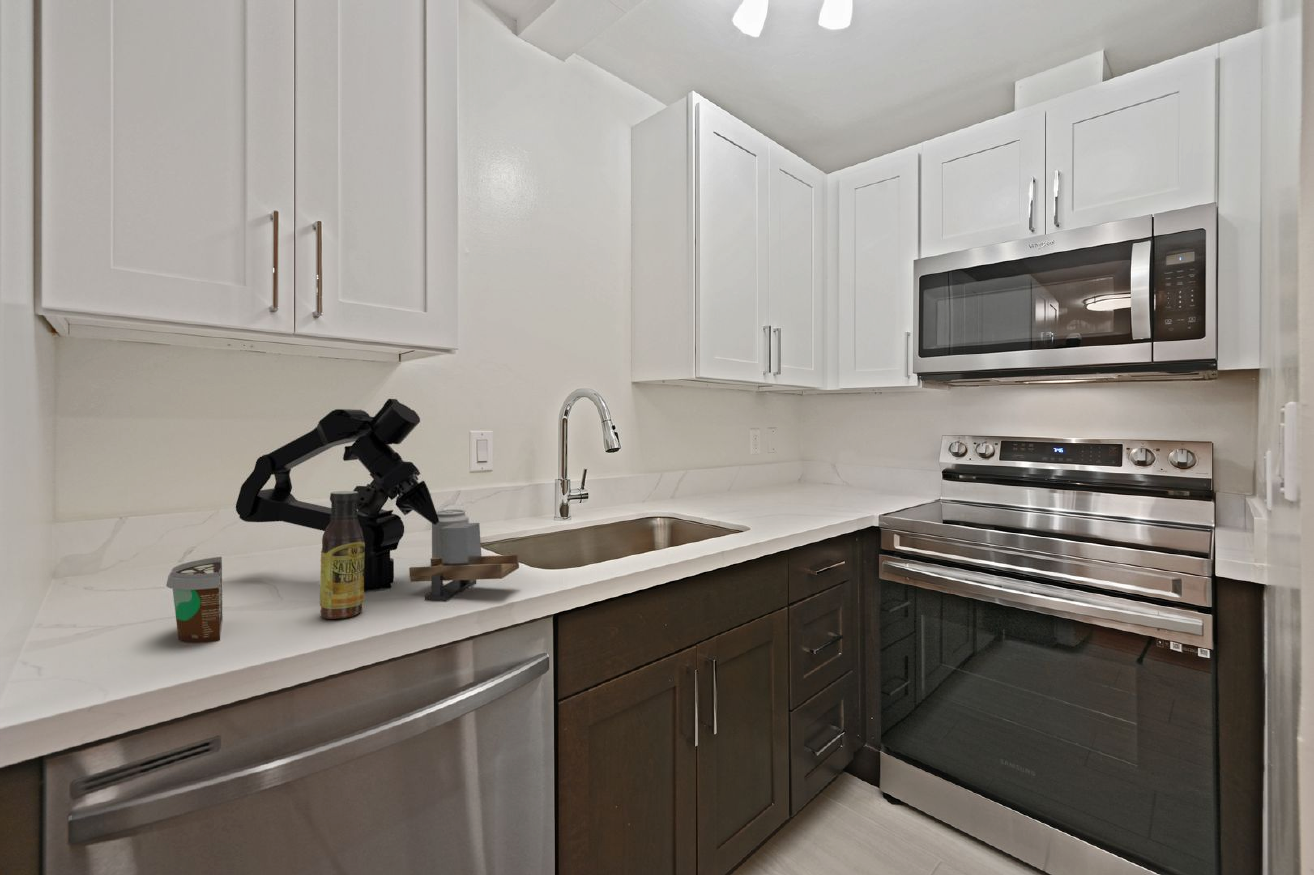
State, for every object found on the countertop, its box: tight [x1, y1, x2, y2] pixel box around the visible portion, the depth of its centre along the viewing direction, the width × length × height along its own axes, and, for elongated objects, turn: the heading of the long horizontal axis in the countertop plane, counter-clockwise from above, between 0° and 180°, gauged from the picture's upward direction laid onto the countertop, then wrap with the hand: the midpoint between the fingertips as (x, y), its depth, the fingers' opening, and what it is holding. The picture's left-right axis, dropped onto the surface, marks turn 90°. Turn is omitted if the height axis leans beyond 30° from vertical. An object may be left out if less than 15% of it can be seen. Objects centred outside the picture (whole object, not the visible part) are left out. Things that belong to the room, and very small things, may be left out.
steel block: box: [440, 522, 482, 566], centre depth 105 cm, size 5×5×8 cm
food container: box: [165, 556, 224, 644], centre depth 84 cm, size 12×6×10 cm, turn 35°
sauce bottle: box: [319, 490, 365, 620], centre depth 93 cm, size 6×6×20 cm
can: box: [431, 508, 470, 558], centre depth 124 cm, size 8×8×12 cm
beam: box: [408, 554, 520, 583], centre depth 105 cm, size 18×8×3 cm, turn 80°
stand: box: [424, 574, 477, 602], centre depth 106 cm, size 4×11×4 cm, turn 170°
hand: (437, 523), depth 106 cm, fingers closed
